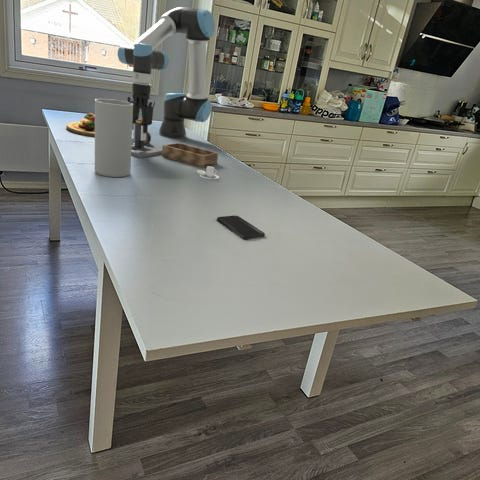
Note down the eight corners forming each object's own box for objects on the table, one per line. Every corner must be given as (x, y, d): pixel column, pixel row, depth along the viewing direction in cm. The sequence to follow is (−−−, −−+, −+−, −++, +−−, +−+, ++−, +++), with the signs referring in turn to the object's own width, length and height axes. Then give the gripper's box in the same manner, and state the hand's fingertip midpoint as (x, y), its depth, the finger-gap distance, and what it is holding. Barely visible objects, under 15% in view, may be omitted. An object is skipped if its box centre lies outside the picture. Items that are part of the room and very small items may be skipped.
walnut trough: (161, 156, 184) (162, 145, 182) (177, 153, 194) (178, 142, 192) (202, 167, 175) (204, 156, 173) (217, 163, 185) (218, 152, 183)
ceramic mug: (150, 143, 205) (151, 128, 202) (150, 146, 198) (151, 131, 195) (129, 141, 203) (130, 126, 200) (129, 144, 196) (129, 129, 193)
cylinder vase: (137, 176, 150) (140, 105, 140) (106, 179, 141) (107, 104, 131) (118, 167, 157) (120, 99, 147) (88, 169, 148) (87, 98, 138)
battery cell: (138, 146, 186) (139, 117, 181) (145, 148, 184) (146, 119, 179) (132, 147, 182) (133, 117, 177) (139, 149, 181) (140, 119, 176)
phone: (236, 215, 125) (266, 234, 114) (236, 218, 126) (265, 238, 115) (215, 217, 121) (243, 237, 110) (214, 220, 121) (243, 241, 110)
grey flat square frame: (136, 146, 193) (136, 143, 192) (162, 153, 187) (162, 150, 187) (114, 150, 181) (114, 146, 180) (140, 158, 175) (140, 154, 174)
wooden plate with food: (64, 124, 220) (64, 108, 216) (124, 128, 234) (125, 113, 230) (68, 136, 194) (68, 118, 191) (136, 140, 208) (137, 124, 205)
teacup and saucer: (193, 174, 165) (195, 164, 163) (208, 173, 170) (209, 163, 169) (208, 180, 159) (209, 170, 158) (223, 179, 165) (224, 169, 163)
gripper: (120, 80, 172) (119, 136, 182) (151, 86, 166) (148, 144, 176) (132, 80, 179) (130, 134, 188) (162, 86, 172) (159, 142, 182)
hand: (139, 139), depth 182 cm, fingers closed on battery cell, 4 cm apart
